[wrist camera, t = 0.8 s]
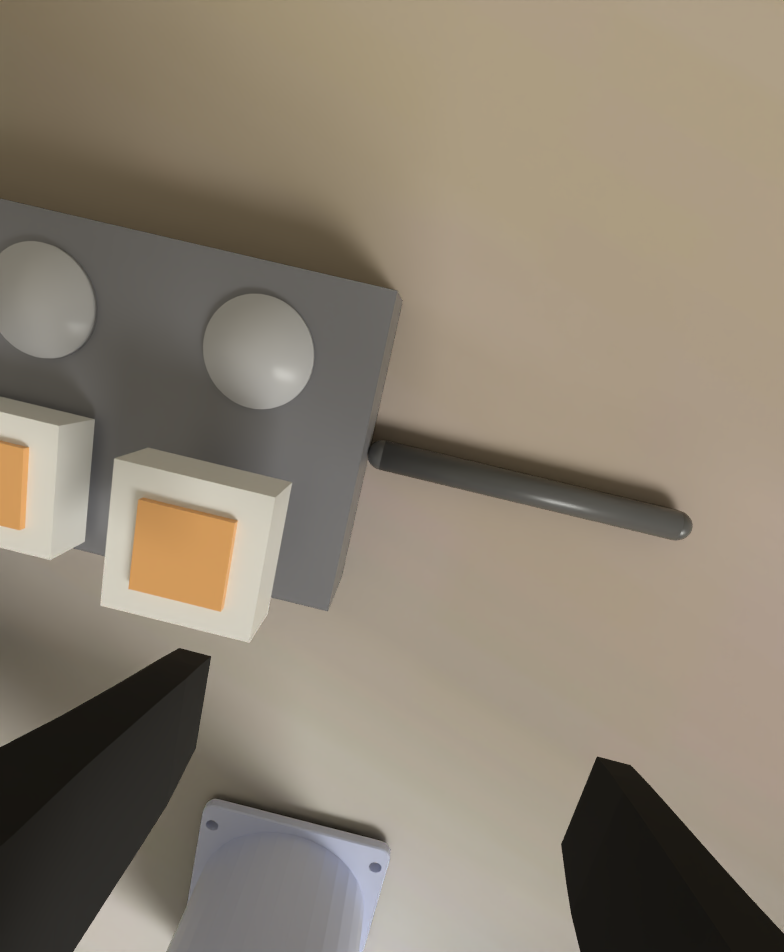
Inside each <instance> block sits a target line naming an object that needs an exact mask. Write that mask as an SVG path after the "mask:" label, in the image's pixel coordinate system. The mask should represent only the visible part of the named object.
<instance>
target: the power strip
mask: <svg viewBox="0 0 784 952" xmlns="http://www.w3.org/2000/svg"><path fill="white" fill-rule="evenodd" d="M402 301H403V300H402V298H401V296H400V295H399V293H398V291H396V290H392V289H388V288H383V287H379V286H375V285H370V284H366V283H362V282H358V281H353V280H349V279H345V278H340V277H336V276H332V275H327V274H323V273H319V272H315V271H310V270H306V269H302V268H297V267H293V266H289V265H284V264H280V263H276V262H271V261H267V260H263V259H259V258H254V257H250V256H246V255H241V254H237V253H233V252H228V251H224V250H220V249H216V248H211V247H207V246H203V245H198V244H194V243H190V242H185V241H181V240H177V239H172V238H168V237H164V236H160V235H155V234H151V233H147V232H142V231H138V230H134V229H129V228H125V227H121V226H117V225H112V224H108V223H104V222H99V221H95V220H91V219H86V218H82V217H78V216H73V215H69V214H65V213H61V212H56V211H52V210H48V209H43V208H39V207H35V206H30V205H26V204H22V203H18V202H13V201H9V200H5V199H0V396H1V397H5V398H9V399H13V400H17V401H21V402H26V403H30V404H34V405H38V406H42V407H46V408H50V409H55V410H59V411H63V412H67V413H71V414H75V415H79V416H84V417H88V418H92V419H95V425H94V437H93V449H92V461H91V473H90V485H89V497H88V509H87V521H86V533H85V542H83V543H81V544H80V545H78V546H76V547H74V549H78V550H82V551H86V552H90V553H94V554H98V555H102V556H105V550H106V540H107V529H108V519H109V508H110V497H111V487H112V476H113V466H114V458H117V457H120V456H123V455H126V454H129V453H133V452H136V451H139V450H142V449H145V448H152V449H157V450H161V451H165V452H169V453H173V454H177V455H181V456H185V457H190V458H194V459H198V460H202V461H206V462H210V463H214V464H219V465H223V466H227V467H231V468H235V469H239V470H243V471H247V472H252V473H256V474H260V475H264V476H268V477H272V478H276V479H281V480H285V481H289V482H292V486H291V492H290V497H289V502H288V508H287V513H286V519H285V524H284V529H283V535H282V540H281V546H280V551H279V556H278V562H277V567H276V573H275V578H274V583H273V589H272V594H271V597H272V598H276V599H280V600H284V601H288V602H292V603H296V604H300V605H304V606H308V607H312V608H316V609H320V610H324V611H328V610H329V607H330V605H331V602H332V600H333V598H334V595H335V593H336V590H337V588H338V585H339V583H340V580H341V578H342V573H343V569H344V564H345V560H346V555H347V550H348V546H349V541H350V537H351V532H352V528H353V523H354V519H355V514H356V510H357V505H358V501H359V496H360V492H361V487H362V483H363V478H364V473H365V469H366V464H367V460H369V462H370V464H371V465H372V466H373V467H375V468H376V469H379V470H383V471H387V472H392V473H396V474H400V475H404V476H408V477H412V478H417V479H421V480H425V481H429V482H433V483H437V484H441V485H446V486H450V487H454V488H458V489H462V490H466V491H471V492H475V493H479V494H483V495H487V496H491V497H496V498H500V499H504V500H508V501H512V502H516V503H520V504H525V505H529V506H533V507H537V508H541V509H545V510H550V511H554V512H558V513H562V514H566V515H570V516H575V517H579V518H583V519H587V520H591V521H595V522H600V523H604V524H608V525H612V526H616V527H620V528H624V529H629V530H633V531H637V532H641V533H645V534H649V535H654V536H658V537H662V538H666V539H670V540H681V539H684V538H686V537H687V536H688V535H689V534H690V533H691V531H692V521H691V519H690V518H689V516H688V515H687V514H685V513H684V512H681V511H678V510H674V509H670V508H666V507H662V506H657V505H653V504H649V503H645V502H641V501H637V500H632V499H628V498H624V497H620V496H616V495H611V494H607V493H603V492H599V491H595V490H591V489H586V488H582V487H578V486H574V485H570V484H565V483H561V482H557V481H553V480H549V479H545V478H540V477H536V476H532V475H528V474H524V473H519V472H515V471H511V470H507V469H503V468H499V467H494V466H490V465H486V464H482V463H478V462H473V461H469V460H465V459H461V458H457V457H453V456H448V455H444V454H440V453H436V452H432V451H427V450H423V449H419V448H415V447H411V446H407V445H402V444H398V443H394V442H390V441H385V440H380V441H377V442H375V443H373V444H372V445H371V442H372V437H373V433H374V428H375V424H376V419H377V415H378V410H379V406H380V401H381V396H382V392H383V387H384V383H385V378H386V374H387V369H388V365H389V360H390V356H391V351H392V347H393V342H394V338H395V333H396V329H397V324H398V319H399V315H400V310H401V306H402Z"/></svg>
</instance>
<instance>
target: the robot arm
mask: <svg viewBox="0 0 784 952" xmlns="http://www.w3.org/2000/svg"><path fill="white" fill-rule="evenodd" d="M210 660H211V656H208V655H204V654H200V653H196V652H192V651H188V650H184V649H181V648H178V649H177V650H175V651H173V652H171V653H170V654H168V655H166V656H164V657H163V658H161V659H159V660H157V661H156V662H154V663H152V664H151V665H149V666H147V667H145V668H144V669H142V670H140V671H139V672H137V673H135V674H134V675H132V676H130V677H129V678H127V679H125V680H123V681H122V682H120V683H118V684H117V685H115V686H113V687H112V688H110V689H108V690H106V691H105V692H103V693H101V694H99V695H97V696H96V697H94V698H92V699H90V700H89V701H87V702H85V703H83V704H81V705H80V706H78V707H76V708H74V709H73V710H71V711H69V712H67V713H65V714H64V715H62V716H60V717H58V718H56V719H54V720H52V721H50V722H48V723H47V724H45V725H43V726H41V727H39V728H37V729H35V730H33V731H31V732H29V733H27V734H25V735H23V736H21V737H19V738H17V739H15V740H14V741H12V742H10V743H8V744H6V745H4V746H2V747H0V952H73V951H74V949H75V948H76V946H77V945H78V943H79V942H80V940H81V939H82V937H83V935H84V934H85V932H86V931H87V929H88V928H89V926H90V925H91V923H92V921H93V920H94V918H95V917H96V915H97V914H98V912H99V911H100V909H101V907H102V906H103V904H104V903H105V901H106V900H107V898H108V897H109V895H110V893H111V892H112V890H113V889H114V887H115V886H116V884H117V883H118V881H119V879H120V878H121V876H122V875H123V873H124V872H125V870H126V869H127V867H128V865H129V864H130V862H131V861H132V859H133V858H134V856H135V855H136V853H137V851H138V850H139V848H140V847H141V845H142V844H143V842H144V840H145V839H146V837H147V836H148V834H149V833H150V831H151V829H152V828H153V826H154V825H155V823H156V822H157V820H158V818H159V817H160V815H161V814H162V812H163V810H164V809H165V807H166V806H167V804H168V802H169V800H170V798H171V796H172V794H173V792H174V790H175V788H176V786H177V784H178V782H179V780H180V778H181V776H182V774H183V772H184V770H185V768H186V766H187V764H188V762H189V760H190V758H191V756H192V754H193V752H194V750H195V748H196V743H197V737H198V731H199V725H200V719H201V713H202V707H203V701H204V695H205V689H206V683H207V677H208V672H209V666H210ZM212 820H213V821H212ZM214 821H215V822H214ZM561 846H562V853H563V861H564V869H565V877H566V884H567V890H568V897H569V903H570V909H571V915H572V919H573V923H574V927H575V932H576V936H577V940H578V944H579V948H580V952H784V933H783V932H782V931H781V930H780V929H779V928H778V927H777V926H776V925H775V924H774V923H773V922H772V921H771V920H770V918H769V917H768V916H767V915H766V914H765V913H764V912H763V911H762V910H761V909H760V908H759V907H758V906H757V904H756V903H755V902H754V901H753V900H752V899H751V898H750V897H749V896H748V895H747V894H746V892H745V891H744V890H743V889H742V888H741V887H740V886H739V885H738V884H737V883H736V882H735V880H734V879H733V878H732V877H731V876H730V875H729V874H728V873H727V872H726V870H725V869H724V868H723V867H722V866H721V865H720V864H719V863H718V862H717V860H716V859H715V858H714V857H713V856H712V855H711V854H710V853H709V851H708V850H707V849H706V848H705V847H704V846H703V845H702V844H701V842H700V841H699V840H698V839H697V838H696V837H695V836H694V834H693V833H692V832H691V831H690V830H689V829H688V828H687V827H686V825H685V824H684V823H683V822H682V821H681V820H680V819H679V817H678V816H677V815H676V814H675V813H674V812H673V811H672V810H671V808H670V807H669V806H668V805H667V804H666V803H665V802H664V801H663V799H662V798H661V797H660V796H659V795H658V794H657V793H656V792H655V791H654V789H653V788H652V787H651V786H650V785H649V784H648V783H647V782H646V781H645V780H644V779H643V778H642V777H641V775H640V774H639V773H638V772H637V771H636V770H635V769H634V768H633V767H632V766H631V765H628V764H624V763H620V762H616V761H612V760H608V759H605V758H601V757H597V758H596V760H595V763H594V765H593V768H592V770H591V773H590V775H589V778H588V780H587V782H586V785H585V787H584V790H583V792H582V795H581V797H580V800H579V802H578V805H577V807H576V809H575V812H574V814H573V817H572V819H571V822H570V824H569V827H568V829H567V832H566V834H565V836H564V839H563V841H562V844H561ZM389 861H390V848H389V846H388V845H387V844H386V843H385V842H383V841H380V840H376V839H372V838H368V837H364V836H360V835H357V834H353V833H349V832H345V831H341V830H337V829H333V828H329V827H325V826H321V825H318V824H314V823H310V822H306V821H302V820H298V819H294V818H290V817H286V816H283V815H279V814H275V813H271V812H267V811H263V810H259V809H255V808H251V807H248V806H244V805H240V804H236V803H232V802H228V801H224V800H220V799H212V800H210V801H208V802H207V804H206V806H205V808H204V810H203V813H202V818H201V824H200V830H199V836H198V842H197V848H196V854H195V860H194V866H193V872H192V878H191V884H190V890H189V896H188V902H187V906H186V909H185V911H184V913H183V915H182V918H181V920H180V922H179V924H178V927H177V929H176V931H175V933H174V935H173V938H172V940H171V942H170V944H169V947H168V949H167V951H166V952H363V951H364V947H365V944H366V940H367V937H368V933H369V930H370V926H371V923H372V919H373V916H374V913H375V909H376V906H377V902H378V899H379V895H380V892H381V888H382V885H383V881H384V878H385V875H386V871H387V868H388V864H389ZM374 862H376V863H374Z"/></svg>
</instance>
